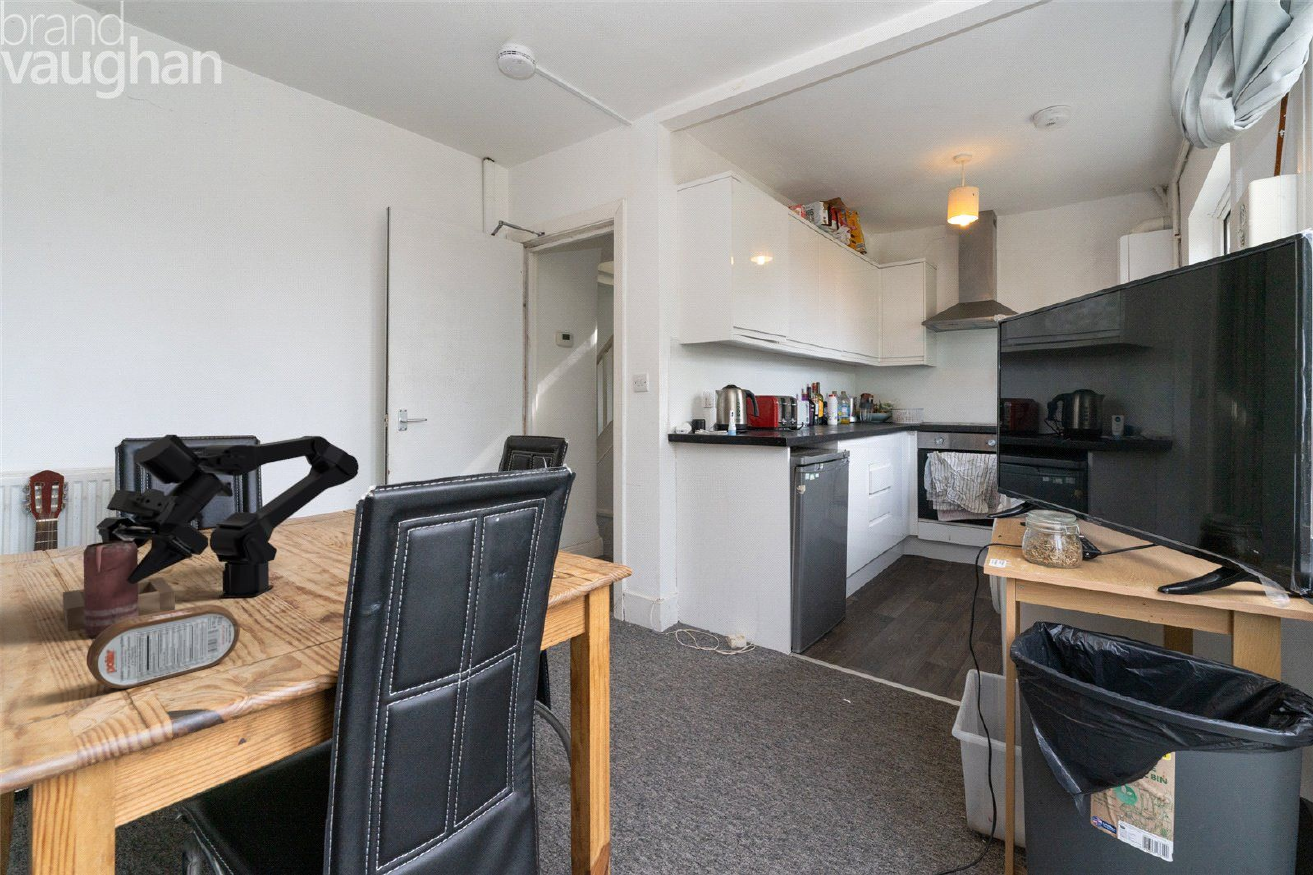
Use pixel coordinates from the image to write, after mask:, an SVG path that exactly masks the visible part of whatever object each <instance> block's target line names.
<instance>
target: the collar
mask: <svg viewBox="0 0 1313 875" xmlns="http://www.w3.org/2000/svg"><path fill="white" fill-rule="evenodd" d="M175 593H176V592H175V590H174V588H172V586H171V585H170V584H169V583H168V582H167V581H166V580H165V579H164V578H163V577H155V578H150V579H149V578H148V579H143V580H141V581H139V582H138V616H143V615H149V614H155V613H160V612H166V611H172V610H176V602H175V601H176V597H175V596H176V594H175ZM62 612H63V617H64V621H65V625H66V630H67V632H69V631H75V630H78V629H85V616H84V588H83V589H82V588H81V589H76V590H70V591H63V592H62Z"/></svg>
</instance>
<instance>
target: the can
mask: <svg viewBox="0 0 1313 875" xmlns="http://www.w3.org/2000/svg"><path fill="white" fill-rule="evenodd" d="M138 550H139V549H138ZM138 550H137V546H136V544H135V543H134V541H131V540H121V541H109V542H95V543H91V544H88V545H86V547H85V549H84V550H83V552H82V553H83V589H84V616H85V628H84V635H86V636H87V637H88V638H90V639H95V638H96V637H97V636H98V635H99V634H100V633H101V632H103V631H104V630H105V629H107V628H108V627H110V626H111V625H113V624H115V623H117V622H119V621H122V620H125V619H128V618H132V617H138V582H137V583H135V584H130V583H129V582H127V579H128V577H129V576H130V575H131V573H132V572H133V570H134V569H135V568H136V567H137V565H138V564H139V563H138V562H139V561H138V560H139V559H138Z"/></svg>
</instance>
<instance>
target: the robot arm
mask: <svg viewBox="0 0 1313 875" xmlns="http://www.w3.org/2000/svg"><path fill="white" fill-rule="evenodd" d="M302 457H305V459H306V461H307V464H309V465H310V469H309V472H308V474H307V475H306V476H305V477H303V478H302V479H300V480H299V481H298V482H296V483H294V484H293V485H292V486H290V487H289V488H286V490H285V491H283V492H282V493H280V494H278V495H277V496H276V497H274V498H273V499H272V500H270V501H269V502H267V503H266V504H264V505H262V507H260V508H259V509H257V510H256V511H254V512H241V511H235V512H233V513H232V514H230V516H228V517H227V518H226V519H225V520H223V521H221V522H217V523H216V528H214V529H213V530H212V532H211V533H210V535H209V536H210V538H209V537H207V536H206V535H205V534H203V533H202V532H201V531H200V530H199V529H197V528H196V527H194V526H193V525H192V522H201V521H202V519H203V518H205V516H204V515H203V514H202V511H204V510H205V508H207V506H208V505H209V504H210V503H211V502H212V501H213V500H214V499H215V497H216V496H217V497H229V498H231V497H233V496H234V493H233V489H232V488H233V487H232V482H231V481H224V480H222V479H221V478H219V477H218V476H224V477H225V476H227V477H239V476H243V475H245V474H248V473H250V472H253V471H256V470H258V469H259V468H260V467H262V466H264V465H266V464H270V463H275V462H281V461H286V460H290V459H291V460H292V459H296V458H302ZM133 462H135V464H137V466H139V467H141V468H142V469H143V470H144V471H146V472H147V473H148V474H149V475H151V476H152V477H154V478H155V479H156V480H157V481H159V482H160V483H161V484H163V485H170V484H173V485H175V486H174V487H173V488H172V489H171V490H169V492H168V493H167V494H165V491H162V490H159V489H156V488H147V489H146V490H144V491H143V492H141V491H133V490H129V489H128V490H125V489H116V490H115V491H114V493H113V496H112V497H111V499H110V501H109V503H108V505H107V506H106V509H107V510H109V511H113V512H114V511H118V512H122V513H126V514H129V515H132V516H131V517H130V518H129V517H124V516H123V517H122V516H121V517H120V516H111V517H109V516H108V517H105V518H104V519H103V520H102V521H100V523H98V524H97V525H96V526H95V527H96V530H98V533H97V534H98V535H100V537H101V541H102V542H109V541H121V540H131V541H134V543H135V544H136V546H137V550H138V552H140V550H139V549H140V548H142V547H144V546H145V545H146V544H147V543H148V542H149V541H151V545H150V546H151V547H150V549H149V551H148V552H147V553H146V554H145V556H143V558H142V559H141V560H140V562H139V563H138V565H137V567H136V568H135V569H134V570H133V572H132V573H131V575H130V576H129V577H128V579H127V582H129V583H130V584H135V583H137V582H139V581H141V580H146V579H147V578H150V577H151V576H153V575H154V574H157V573H159V572H161V571H163V570H165V569H167V568H169V567H171V566H174V565H176V564H178V563H180V562H182V561H184V560H187V559H191V558H193V555H194V556H195V555H196V556H201V555H202V553H203V552H204V551H205V550H206V549H207V548H208V547H210V551H212V552H213V553H215V555H216V558H217V560H218V563H224V569H223V570H222V592H223V593H220V594H218V597H219V598H252V597H253V598H254V597H257V596H260V595H261V594H263V593H265V592H267V591H270V590H271V589H273V588H274V587H275V585H274V584H270V583H269V582H270V581H269V577H270V576H269V573H270V572H269V571H270V570H269V567H270V566H269V565H270V564H269V562H271V561H274V560H275V558H276V555H277V552H278V549H277V548H276V547H275V546H273V545H272V544H271V543H270V542H269V541H270V539H271V538H272V534H273V532H274V530H275V529H276V528H277V527H278V526H280V525H281V524H282V523H284V522H285V521H286V520H288V519H289V518H290V517H291V516H293V515H294V514H295V513H297V512H298V511H299V510H301V509H303V507H305V506H307V505H308V504H309V503H311V501H313V500H314V499H316V498H317V497H318V496H320V495H321V494H322V493H323V492H325V491H327V490H329V489H331V488H334V487H337V486H341V485H344V484H345V483H347V482H350V481H351V480H354V479H355V478H356V477H357V475H358V474H359V467H360V466H359V463H358V460H357V458H356V457H355V456H354V455H352V454H349V453H348V452H347V451H346V450H343V449H342V448H340V447H338V446H337V445H335V444H332V443H331V442H329V441H328V440H327V438H325V437H323V436H320V435H304V436H302V437H297V438H291V439H284V440H280V441H279V440H277V441H271V442H265V443H260V444H259V443H258V444H251V445H248V444H246V445H245V444H244V445H242V444H241V445H239V444H212V445H208V446H206V447H204V449H203V451H200V452H199V451H198V452H194V451H193V450H192V449H191V448H189V446H188V445H186V444H185V443H184V442H183V440H182V439H181V438H180V437H179V436H178V435H177V434H166V435H165V436H163V438H160V439H157V440H155V441H152V442H151V443H149V444H147V445H146V446H145V445H144V446H142V447H141V448H140V449H139V450H138V451H137V452H136V453H135V455H134V456H133ZM138 523H139V524H138Z"/></svg>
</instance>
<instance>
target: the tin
mask: <svg viewBox="0 0 1313 875" xmlns="http://www.w3.org/2000/svg"><path fill="white" fill-rule="evenodd" d="M240 634H241V629H240V624H239V621H238V620H237V619H236V617H235V615H234V614H233V612H231V611H230V610H229V609H227V608H226V607H224V606H222V605H219V604H212V603H211V604H208V603H207V604H200V605H194V606H189V607H183V608H178V609H175V610H172V611H166V612H160V613H155V614H149V615H143V616H138V617H132V618H128V619H125V620H122V621H119V622H117V623H115V624H113V625H111V626H110V627H108V628H107V629H105V630H104V631H103V632H101V633H100V634H99V635H98V636H97V637H96V638H94V640H93V641H92V643H91V644H90V646H89V648H88V651H87V653H86V667H87V668H88V671H89V672H90V673H91V675H92V676H93V678H94V679H95V680H96V681H97V682H98V683H100V684H101V685H104V686H106V687H108V688H113V689H131V688H137V687H139V686H144V685H148V684H151V683H155V682H159V681H163V680H168V679H171V678H174V677H179V676H183V675H187V674H191V673H195V672H198V671H202V670H206V669H210V668H212V667H214V666H216V665H218V664H220V663H221V662H222V661H224V660H225V659H226V658H227V657H228V656H229V655H230V654H232V653H233V651H234V650H235V648H236V646H237V644H238V642H239V638H240Z"/></svg>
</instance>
